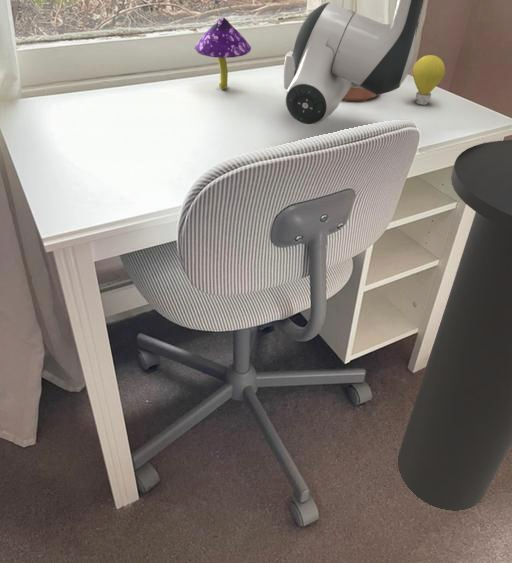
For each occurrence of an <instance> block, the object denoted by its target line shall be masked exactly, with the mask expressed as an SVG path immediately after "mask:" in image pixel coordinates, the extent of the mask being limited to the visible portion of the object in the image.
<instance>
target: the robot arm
mask: <svg viewBox="0 0 512 563" xmlns="http://www.w3.org/2000/svg"><path fill="white" fill-rule="evenodd" d="M425 1H426V0H397V1H396V4H395V5H396V6H395V9H394V13H393V17H392V21H391V22H390V23H387V24H386V23H382V22H380V21H377V20H375V19H372V18H370V17H367V16H364V15H361V14H360V13H356V12H355V11H353V10H351V9H348V8H346V7H343V6H340V5H337V4H335V3H333V2H330V1H328V2H325V3H323V4H321V5H319V6H317V8H315V9H314V10H313V11H311V12H310V13H309V14H308V16H306V18H305V19H304V21H303V23H302V24H301V27H300V28H299V31H298V33H297V35H296V39H295V42H294V46H293V49H292V50H289V51H288V52H287V53H286V54H285V58H284V64H283V88H284V90H286V94H285V101H284V102H285V106H286V109H287V111H288V113H289V114H290V116H291V117H292V119H294V120H295V121H297V122H299V123H301V124H303V125H308V126H309V125H317V124H320V123H321V122H323V121H325V120H326V119H328V118H329V117H330V116H331V115H332V114H333V113H334V112H335V111H336V109H337V108H338V107H339V105H340V104H341V103H342V101H343V100H342V99H343V98H344V97H345V95H346V94H347V92H348V91H349V90H350V88H351V87H354V88H361V89H366V90H368V91H370V92H372V93H374V94H376V95H378V96H380V95H384V94H387V93H391V92H393V91H395V90H397V89H399V88H400V87H401V85H402V84H403V83H404V81H405V80H406V78H407V76H408V74H409V72H410V69H411V67H412V64H413V58H414V51H415V43H416V42H415V41H416V37H417V36H416V35H417V31H418V28H419V23H420V20H421V16H422V13H423V9H424V6H425Z"/></svg>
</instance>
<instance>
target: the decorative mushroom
mask: <svg viewBox="0 0 512 563" xmlns="http://www.w3.org/2000/svg"><path fill="white" fill-rule="evenodd" d="M194 50H195V51H196V53H197V54H199V55H202V56H206V57H209V58H217V62H218V65H219V73H220V74H219V75H220V76H219V84H218V87H219V88H220V89H223V90H224V89H227V88H228V79H229V78H228V75H229V74H228V73H229V71H228V70H229V69H228V64H227V58H238V57H239V58H240V57H243V56H245V55H247V54H249V53H250V52H251V50H252V46H251V45H250V44H249V42H248V41H247V40H246V39H245V37H244V36H243V35H242V34H241V33H240V32H239V31H238V30H237V29H236V28H235V27H234V26H233V25H232V24H231V23H230V21H229V20H227V19H226V17H220V18H218V19H217V21H216V22H215V23H214V24H213V25H211V27H209V29H208V30H207V31H205V33H203V35H202V36H201V37H200V38H199V40H198V42H197V43H196V44H195V46H194Z"/></svg>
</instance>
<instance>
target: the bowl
mask: <svg viewBox="0 0 512 563" xmlns="http://www.w3.org/2000/svg"><path fill="white" fill-rule="evenodd" d="M377 96H379V95H376V94H374V93H372V92H370V91H368V90H366V89H361V88H354V87H351V88H350V90H349V91H348V92H347V94H346V95H345V97H344V98H343V99H342V100H341V101H345V102H364V101H369V100H372V99H373V98H375V97H377Z"/></svg>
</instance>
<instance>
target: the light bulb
mask: <svg viewBox="0 0 512 563" xmlns="http://www.w3.org/2000/svg"><path fill="white" fill-rule="evenodd" d="M445 67H446V66H445V63H444V61H443V60H442V58H440V57H439V56H437V55H434V54H427V55H424V56H422V57H420V58H419V59H417V61H416V62H415V63H414V65H413V68H412V78H413V80H414V84H415V86H416V89H417V91H416V93H415V98H416V104H418V105H422V106H423V105H424V106H425V105H428V102H429V100H431V99H432V98H431V97H432V93H431V92H432V91H434V89H435V88H436V87H437V86H438V85H439V84H440V82H441V81H442V80H443V79H444V77H445V73H446V68H445Z"/></svg>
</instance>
